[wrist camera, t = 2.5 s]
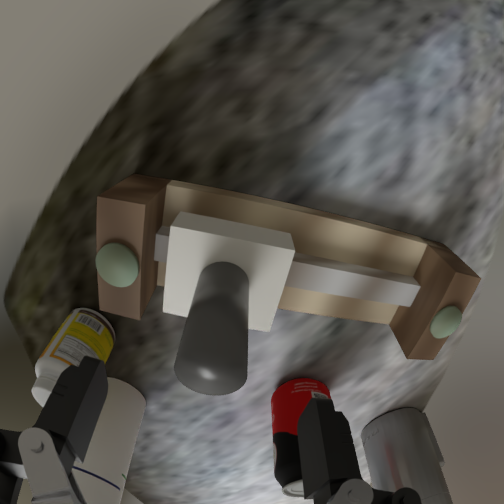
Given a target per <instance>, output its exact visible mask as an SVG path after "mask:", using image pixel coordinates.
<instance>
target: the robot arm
mask: <svg viewBox="0 0 504 504" xmlns="http://www.w3.org/2000/svg"><path fill="white" fill-rule="evenodd" d="M107 394H108V380H107V374H106V368H105V363H104V361H103V360H100V359H96V358H93V357H90V356H87V355H86V356H84V357H83V359H82V361H81V362H80V364H79V366H78V367H77V366H74V365H70V366H69V367H68V368H66V369H65V370H64V371H63V372H62V373H61V374H60V376H59V378H58V380H57V382H56V385H55V386H54V388H53V390H52V393H50V395H49V397H48V399H47V401H46V403H45V405H44V407H43V409H42V411H41V414H40V416H39V418H38V420H37V422H36V424H35V425H34V426H33V427H32V428H28V429H26V430H25V431H23V432H15V431H9V430H3V429H0V504H17V500H18V496H19V492H20V488H21V485H22V481H23V478H25V479H28V482H29V485H30V488H31V491H32V494H33V498H32V504H87V503H86V500H85V498H84V496H83V494H82V492H81V490H80V487H79V485H78V483H77V480H76V478H75V476H74V473H73V471H72V468H73V465H74V462H75V461H76V462H79V463H82V464H83V462H84V459H85V456H86V453H87V450H88V447H89V444H90V441H91V438H92V436H93V433H94V430H95V427H96V424H97V422H98V419H99V416H100V413H101V411H102V408H103V405H104V403H105V400H106V397H107ZM297 434H298V443H299V452H300V461H301V471H302V480H303V490H304V499H314V504H453V502H452V499H451V496H450V493H449V490H448V487H447V484H446V481H445V478H444V475H443V472H442V469H441V467H443V466H444V463H445V462H444V459H443V456H442V453H441V451H440V448H439V446H438V443H437V441H436V438H435V436H434V433H433V431H432V428H431V426H430V423H429V421H428V418H427V416H426V414H425V413H420V412H419V411H418V410H417V409H415V408H403V409H398V410H395V411H392V412H389V413H387V414H385V415H382V416H380V417H379V418H377V419H375V420H374V421H372V422H371V423H370V424H368V425H367V426H366V427H365V428H364V430H363V431H362V433H361V439H362V443H363V447H364V451H365V455H366V459H367V464H368V468H369V472H370V477H371V481H372V485H373V488H371V486H370V485H369V484H368V483H367V482H365V481H364V480H363V479H362V477H361V474H360V469H359V465H358V460H357V456H356V452H355V447H354V444H353V439H352V435H351V430H350V426H349V422H348V420H347V419H346V418H345V416H344V415H343V413H342V412H338V411H335V409H334V405H333V401H332V399H330V398H311V399H310V401H309V402H308V404H307V406H306V407H305V409H304V411H303V412H302V414H301V415H300V417H299V420H298V424H297Z"/></svg>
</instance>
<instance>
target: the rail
mask: <svg viewBox="0 0 504 504" xmlns="http://www.w3.org/2000/svg"><path fill="white" fill-rule="evenodd" d="M180 211H182V212H187V213H192V214H198V215H203V216H208V217H213V218H218V219H223V220H228V221H233V222H238V223H243V224H248V225H253V226H258V227H262V228H267V229H272V230H277V231H282V232H286V233H291V237H292V241H293V244H294V248H295V253H294V257H293V260H292V263H291V266H290V270H289V273H288V276H287V279H286V282H285V285H284V289H283V292H282V295H281V298H280V301H279V304H278V307H277V308H279V309H285V310H291V311H297V312H304V313H310V314H316V315H323V316H330V317H337V318H344V319H351V320H358V321H366V322H373V323H381V324H389V325H390V327H391V329H392V331H393V333H394V335H395V337H396V339H397V341H398V343H399V344H400V346H401V348H402V350H403V352H404V354H405V356H406V358H407V359H420V360H433V359H434V358H435V357H436V355H437V354H438V352H439V351H440V349H441V348H442V346H443V345H444V343H445V341H446V340H447V338H448V337H449V335H450V334H451V333H453V332H454V331H455V330H456V329H457V327H458V326H459V324H460V322H461V319H462V314H463V312H464V310H465V308H466V307H467V305H468V303H469V301H470V299H471V297H472V296H473V294H474V292H475V290H476V288H477V286H478V284H479V282H480V280H481V278H480V277H479V276H478V275H477V274H476V273H475V272H474V271H473V270H472V269H471V268H470V267H469V266H468V265H467V264H465V263H464V262H463V261H462V260H461V259H460V258H459V257H458V256H457V255H456V254H454V253H453V252H452V251H451V250H450V249H449V248H448V247H447V246H445V245H444V244H441V243H438V242H435V241H432V240H428V239H425V238H421V237H418V236H415V235H411V234H408V233H404V232H401V231H397V230H393V229H390V228H386V227H383V226H379V225H375V224H371V223H368V222H364V221H360V220H356V219H352V218H348V217H344V216H340V215H336V214H332V213H328V212H324V211H320V210H316V209H312V208H308V207H303V206H299V205H295V204H290V203H286V202H281V201H277V200H272V199H268V198H263V197H258V196H254V195H249V194H244V193H239V192H234V191H229V190H224V189H219V188H214V187H209V186H203V185H198V184H193V183H187V182H182V181H176V180H170V179H164V178H158V177H152V176H146V175H140V174H132V175H131V176H129V177H127V178H126V179H124V180H123V181H121V182H119V183H118V184H116V185H114V186H113V187H111V188H110V189H108V190H107V191H105V192H103V193H102V194H100V195H99V196H97V230H96V239H97V256H96V268H97V276H98V293H99V307H100V310H102V311H105V312H109V313H113V314H117V315H120V316H124V317H128V318H132V319H136V320H140V319H141V317H142V315H143V313H144V311H145V309H146V307H147V304H148V302H149V300H150V298H151V296H152V294H153V292H154V290H155V288H156V286H157V285H160V286H164V287H165V276H166V265H167V254H168V245H169V236H170V227H171V224H172V223H173V221H174V220H175V218H176V217H177V215H178V214H179V213H180Z"/></svg>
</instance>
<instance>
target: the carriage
mask: <svg viewBox="0 0 504 504" xmlns="http://www.w3.org/2000/svg"><path fill="white" fill-rule="evenodd" d="M294 253H295V248H294V244H293V241H292V237H291V233H286V232H282V231H277V230H272V229H267V228H262V227H258V226H253V225H248V224H243V223H238V222H233V221H228V220H223V219H218V218H213V217H208V216H203V215H198V214H192V213H187V212H182V211H180V213H179V214H178V215H177V217H176V218H175V220H174V221H173V223H172V224H171V227H170V236H169V245H168V254H167V265H166V276H165V288H164V301H163V312H165V313H170V314H175V315H179V316H184V317H187V320H186V324H185V328H184V331H183V335H182V339H181V342H180V346H179V350H178V353H177V357H176V361H175V365H174V371H175V374H176V376H177V378H178V379H179V381H180V382H181V383H182V384H183V385H185V386H186V387H188V388H189V389H191V390H193V391H195V392H198V393H201V394H206V395H226V394H230V393H233V392H235V391H237V390H238V389H240V388H241V387H242V386H243V385H244V384H245V382H246V380H247V364H248V329H253V330H259V331H266V332H269V331H270V328H271V325H272V322H273V319H274V316H275V313H276V310H277V307H278V304H279V301H280V298H281V295H282V292H283V289H284V285H285V282H286V279H287V276H288V273H289V270H290V266H291V263H292V260H293V257H294Z"/></svg>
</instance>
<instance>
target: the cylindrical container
mask: <svg viewBox="0 0 504 504" xmlns="http://www.w3.org/2000/svg"><path fill="white" fill-rule="evenodd" d="M107 380H108V394H107V397H106V400H105V403H104V405H103V408H102V411H101V413H100V416H99V419H98V422H97V424H96V427H95V430H94V433H93V436H92V438H91V441H90V444H89V447H88V450H87V453H86V456H85V459H84V462H83V464H82V463H79V462H76V461H75V462H74V465H73V468H72V471H73V473H74V476H75V478H76V480H77V483H78V485H79V487H80V490H81V492H82V494H83V496H84V498H85V500H86V503H87V504H120V502H121V497H122V494H123V489H124V485H125V480H126V477H127V473H128V469H129V465H130V461H131V457H132V454H133V450H134V446H135V442H136V439H137V435H138V431H139V428H140V424H141V421H142V417H143V414H144V410H145V407H146V401H145V398H144V397H143V395H142V394H141V393H140V392H139V391H138V390H137V389H136V388H134V387H133V386H131V385H130V384H128V383H126V382H124V381H121V380H119V379H115V378H111V377H107Z"/></svg>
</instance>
